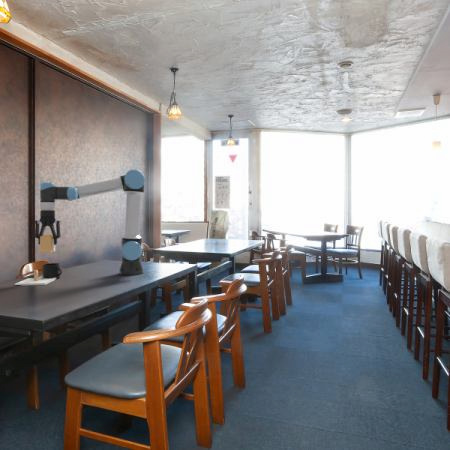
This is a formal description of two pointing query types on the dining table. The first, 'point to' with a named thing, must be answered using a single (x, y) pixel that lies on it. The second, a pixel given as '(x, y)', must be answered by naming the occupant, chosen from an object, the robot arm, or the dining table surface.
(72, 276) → the dining table surface
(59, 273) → the mug
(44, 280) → the junction board
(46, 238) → the tan rectangular block
